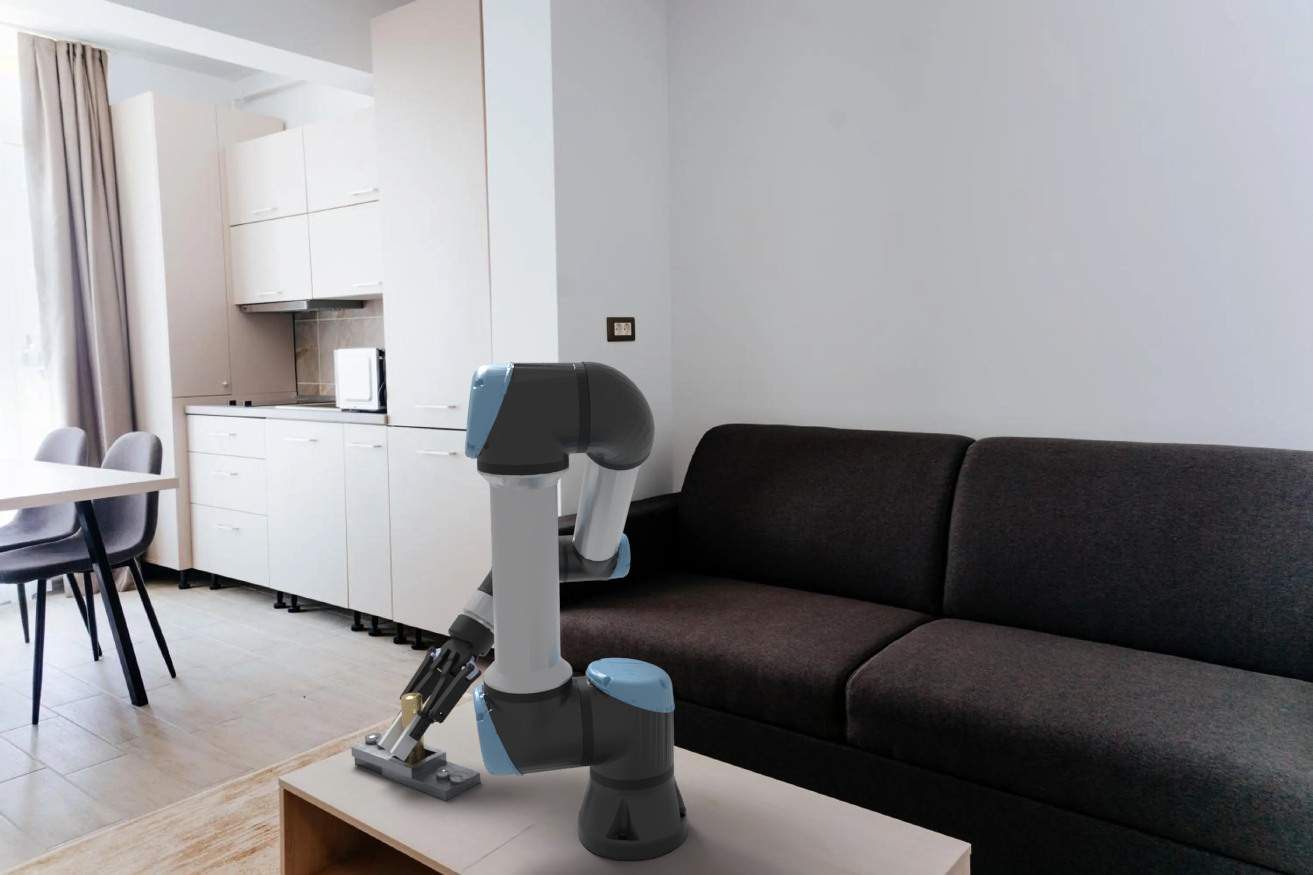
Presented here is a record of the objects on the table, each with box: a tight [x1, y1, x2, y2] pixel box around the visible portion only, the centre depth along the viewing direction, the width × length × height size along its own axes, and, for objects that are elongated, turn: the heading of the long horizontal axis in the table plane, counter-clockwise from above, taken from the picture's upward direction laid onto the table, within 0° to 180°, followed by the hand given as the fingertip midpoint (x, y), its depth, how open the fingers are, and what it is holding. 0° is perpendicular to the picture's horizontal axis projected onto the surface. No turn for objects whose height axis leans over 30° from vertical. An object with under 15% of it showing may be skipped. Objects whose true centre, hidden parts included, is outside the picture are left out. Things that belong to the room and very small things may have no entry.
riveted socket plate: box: [350, 731, 481, 802], centre depth 139 cm, size 23×7×4 cm, turn 56°
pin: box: [400, 693, 425, 765], centre depth 139 cm, size 3×3×11 cm
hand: (391, 752), depth 136 cm, fingers closed on pin, 3 cm apart
